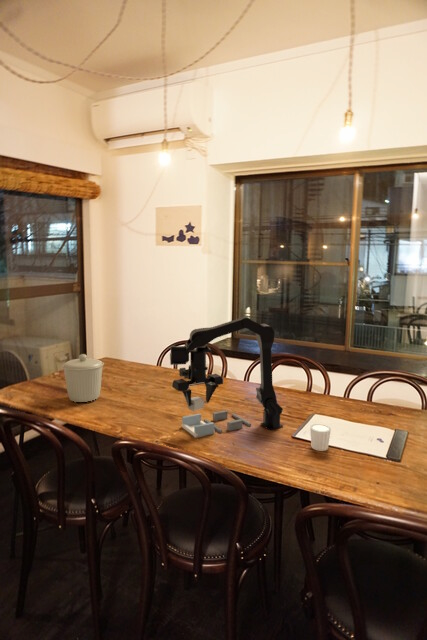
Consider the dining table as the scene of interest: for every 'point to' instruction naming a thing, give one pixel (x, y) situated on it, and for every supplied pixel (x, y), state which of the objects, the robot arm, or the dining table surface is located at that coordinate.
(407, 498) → the dining table surface
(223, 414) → the blocks
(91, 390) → the canister
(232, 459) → the dining table surface
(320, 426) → the shot glass
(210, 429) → the drawer
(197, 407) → the usb wall charger
